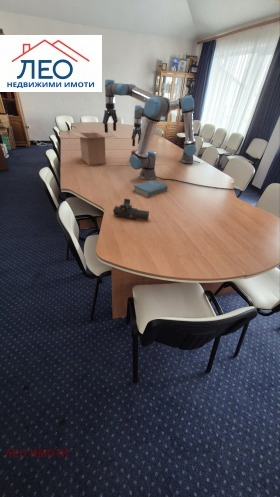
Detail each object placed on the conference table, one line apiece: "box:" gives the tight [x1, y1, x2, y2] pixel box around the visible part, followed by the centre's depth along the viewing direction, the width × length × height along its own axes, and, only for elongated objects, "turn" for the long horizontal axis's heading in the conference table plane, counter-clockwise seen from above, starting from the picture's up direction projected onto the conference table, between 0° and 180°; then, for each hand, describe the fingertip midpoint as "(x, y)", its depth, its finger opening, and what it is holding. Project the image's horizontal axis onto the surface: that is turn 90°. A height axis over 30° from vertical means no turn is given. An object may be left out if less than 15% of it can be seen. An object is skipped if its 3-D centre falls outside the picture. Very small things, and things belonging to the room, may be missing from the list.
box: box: [70, 129, 114, 166], centre depth 229 cm, size 44×36×27 cm
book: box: [133, 179, 169, 198], centre depth 177 cm, size 23×16×5 cm
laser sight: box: [112, 198, 150, 221], centre depth 138 cm, size 10×22×10 cm, turn 78°
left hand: (110, 131), depth 195 cm, fingers open, 13 cm apart
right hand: (136, 145), depth 242 cm, fingers open, 13 cm apart
